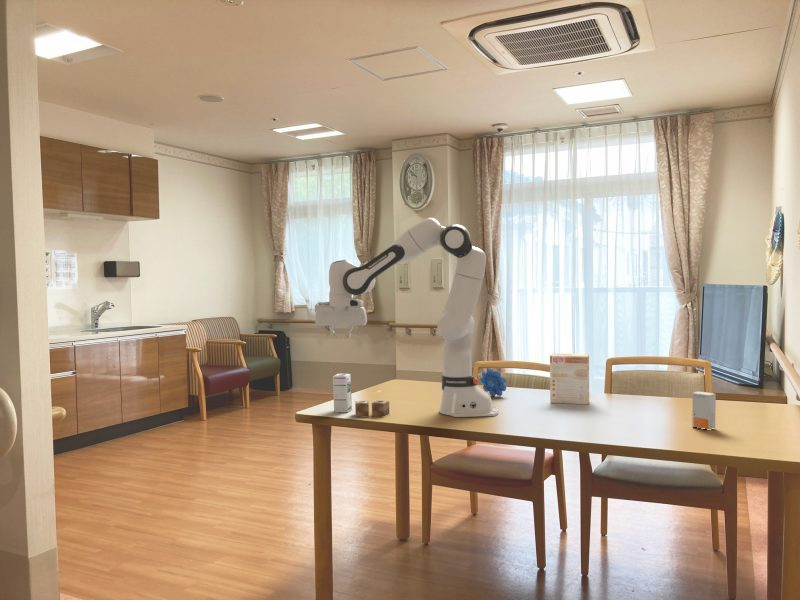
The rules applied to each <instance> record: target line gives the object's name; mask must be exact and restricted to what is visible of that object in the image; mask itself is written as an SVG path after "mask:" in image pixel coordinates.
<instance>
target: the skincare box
mask: <svg viewBox="0 0 800 600" xmlns="http://www.w3.org/2000/svg"><path fill="white" fill-rule="evenodd" d="M716 397H717V394H716V393H713V392H712V393H711V392H705V391H694V392H692V410H691V413H692V415H691V416H692V419H691V420H692V421H691V422H692V423H691V427H692V428H693V427H698V428H705V429H712V428H715V429H716V401H717V400H716V399H717V398H716ZM698 428H697V429H698Z"/></svg>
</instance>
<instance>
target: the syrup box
mask: <svg viewBox="0 0 800 600" xmlns="http://www.w3.org/2000/svg"><path fill="white" fill-rule="evenodd" d="M351 375H352V374H351V373H345V372H344V373H337V374H335V375H333V376H332V390H333V391H332V393H333V412H334V413H338V412H348V413H349V412H350V411H352V409H353V405H352V380H351V379H352V378H351V377H352V376H351Z"/></svg>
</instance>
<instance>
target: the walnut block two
mask: <svg viewBox="0 0 800 600" xmlns="http://www.w3.org/2000/svg"><path fill="white" fill-rule="evenodd" d="M388 414H389V415H390V401H388V400H376V401H373V402H372V403H371V416H372V415H373V416H372V417H380V416H385V417H386V415H387V416H389V415H388Z"/></svg>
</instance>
